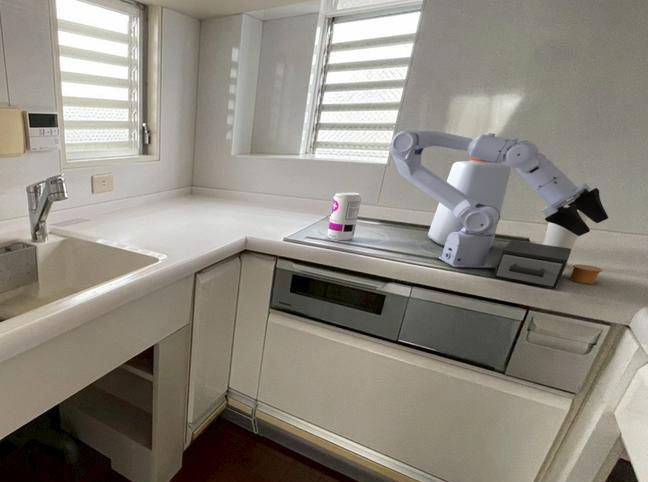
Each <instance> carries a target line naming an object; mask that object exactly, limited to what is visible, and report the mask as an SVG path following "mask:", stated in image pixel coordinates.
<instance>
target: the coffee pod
mask: <svg viewBox="0 0 648 482" xmlns="http://www.w3.org/2000/svg"><path fill="white" fill-rule="evenodd" d="M572 267H573V270H572V272H571V273H570V276H569V279H570V280H571V281H573V282H577V283H582V284H589V285H590V284H593V285H594V284H595V283H596V281H597V279H598V277H599V275H600V273H602V272H603V269H602V268H600V267H597V266H594V265H588V264H579V263H578V264H577V263H575V264H573V265H572Z"/></svg>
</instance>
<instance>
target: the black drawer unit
mask: <svg viewBox="0 0 648 482" xmlns="http://www.w3.org/2000/svg"><path fill="white" fill-rule="evenodd" d="M571 253H572V249H570V248H563V247H556V246H549V245H543V243H542V244H541V243H535V242H528V241H521V240H515V239H511V240H510V241H509V242H508V243H507V245H506V246H505V247H504V248H503V249H502V250H501V254H500V257H499V259H498V263H497V265H496V268H495V271H494V273H493V275H492V276H493V278H497V279H503V280H506V281H507V280H508V281H513V282H518V283H523V284H528V285H533V286H539V287H544V288H548V289H554V290H556V289H557V287H558V285H559V282H560V280H561V277H562V275H563V273H564V270H565V268H566V266H567V264H568V261H569V258H570V255H571ZM504 254H505V255H509V254H511V255H517V256H524V257H530V258H536V259H542V260H548V261H554V262H559V263H560V264H562V266H561V269H560V271H559V274H558V276H557V278H556V281H555V283H554V286H547V285H542V284H537V283H532V282H527V281H522V280H517V279H511V278H506V277H501V276H496V275H497V272H498V269H499V266H500V264H501V261H502V258H503V255H504Z"/></svg>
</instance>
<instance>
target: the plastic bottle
mask: <svg viewBox="0 0 648 482" xmlns="http://www.w3.org/2000/svg"><path fill="white" fill-rule="evenodd" d="M505 163H506V162H505ZM505 163H503V162H501V163H496V162H491V161H486V160H481V159H476V158H471V157H470V159H469V160H464V161H460V160H459V161H456V162H454V163H453V164H452V166H451V169H450V171H449V174H448V177H447V180H446V182H448V183H449V184H450V185H452V186H453V187H455V188H456V189H458V190H459V191H461V192H462V193H464V194H465V195H467V196H468V197H470V198H472V199H474V200H477V201H479V202H481V203H482V204H484V205H490V206H494V207H495V208H497V209H498V210H499V212H500V213H501V212H502V209H503V208H502V207H503V204H504V200H505V197H506V191H507V188H508V183H509V179H510V176H511V172H512V167H509V166H507V165H506V164H505ZM498 224H499V222H498V223H497V224H496V225H494V226H492V228H493V231H494V232H495V234H494V237H493V240H492V243H491V246H490V248H491V247H493V244H494V241H495V236H496V234H497V233H496V232H497V228H498ZM463 227H464V226H463V224H462V222H461V221H460V220H459V219H457V218H456V216H455V215H454V213H453V212H452V211H451V210H449V209H448V208H447V207H445V206H444V205H442V204H441V203H440V202H438V205H437V208H436V210H435V213H434V216H433V219H432V222H431V225H430V228H429V230H428V233H427V237H428V238H429V239H430V240H431V241H433V242H435V243H436V244H438V245H440V246H443V247H444V246H445V243H446V239H447V237H448V236H449V234H450V233H453V232H459V231H461V229H462V228H463Z"/></svg>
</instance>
